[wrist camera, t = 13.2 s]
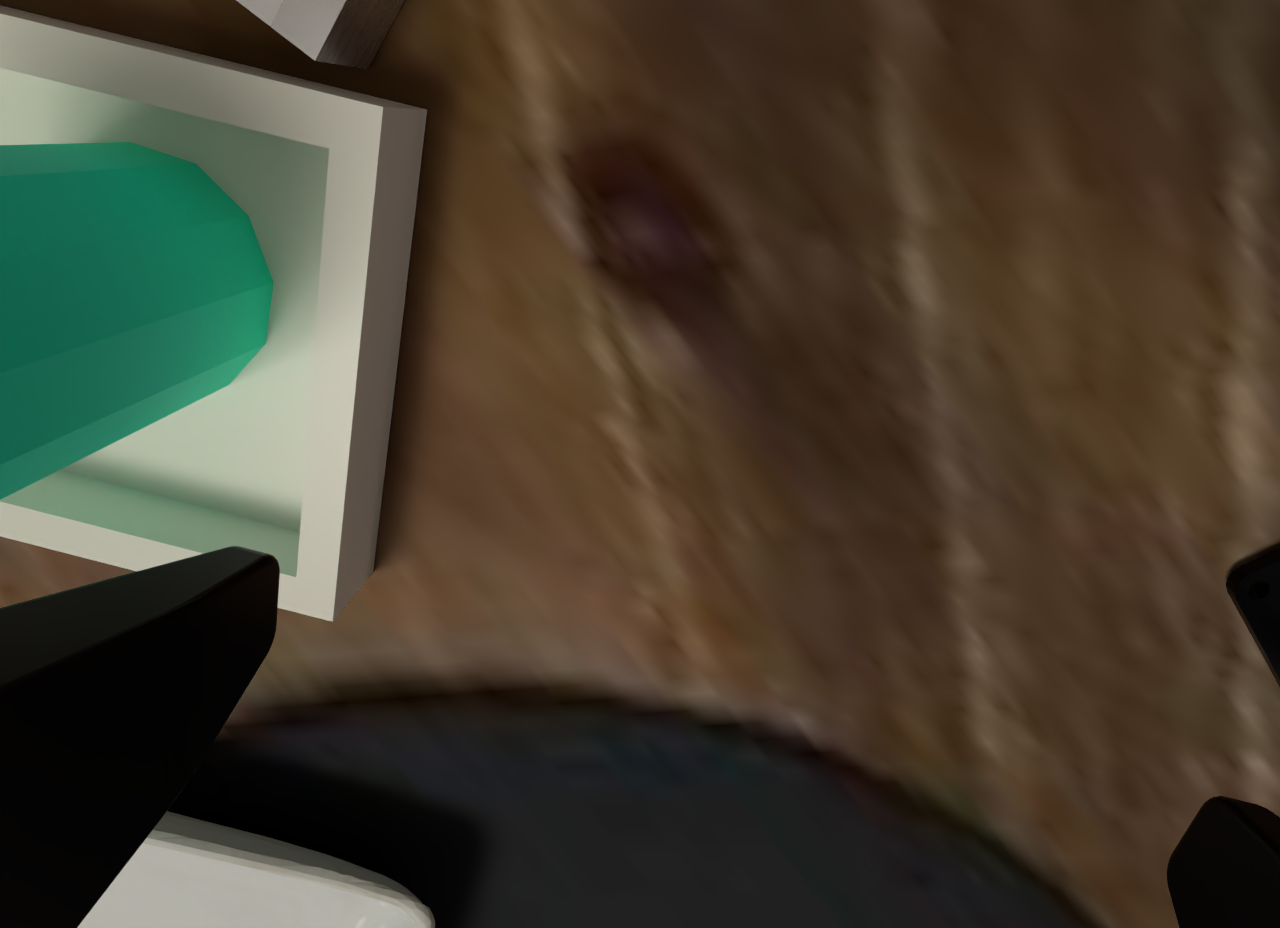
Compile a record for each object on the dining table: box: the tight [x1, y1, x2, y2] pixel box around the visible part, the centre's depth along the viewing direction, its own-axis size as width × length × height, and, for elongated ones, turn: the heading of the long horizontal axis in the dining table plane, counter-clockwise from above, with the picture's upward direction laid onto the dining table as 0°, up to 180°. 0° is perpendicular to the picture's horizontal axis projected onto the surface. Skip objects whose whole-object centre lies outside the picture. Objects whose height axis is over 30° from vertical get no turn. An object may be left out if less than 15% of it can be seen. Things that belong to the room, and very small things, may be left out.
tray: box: [0, 5, 427, 622], centre depth 20 cm, size 12×12×2 cm
